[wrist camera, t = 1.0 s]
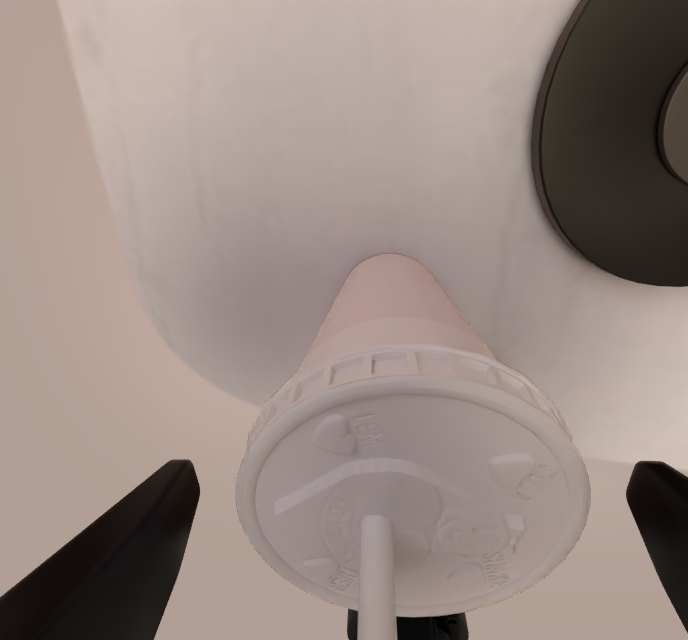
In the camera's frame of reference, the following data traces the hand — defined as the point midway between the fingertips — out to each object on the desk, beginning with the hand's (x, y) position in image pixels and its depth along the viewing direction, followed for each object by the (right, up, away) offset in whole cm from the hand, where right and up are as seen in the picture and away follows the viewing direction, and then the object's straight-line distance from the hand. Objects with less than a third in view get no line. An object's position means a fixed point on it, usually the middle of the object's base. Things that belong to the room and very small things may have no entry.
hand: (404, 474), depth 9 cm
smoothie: (0, +4, +8) cm, 9 cm away
